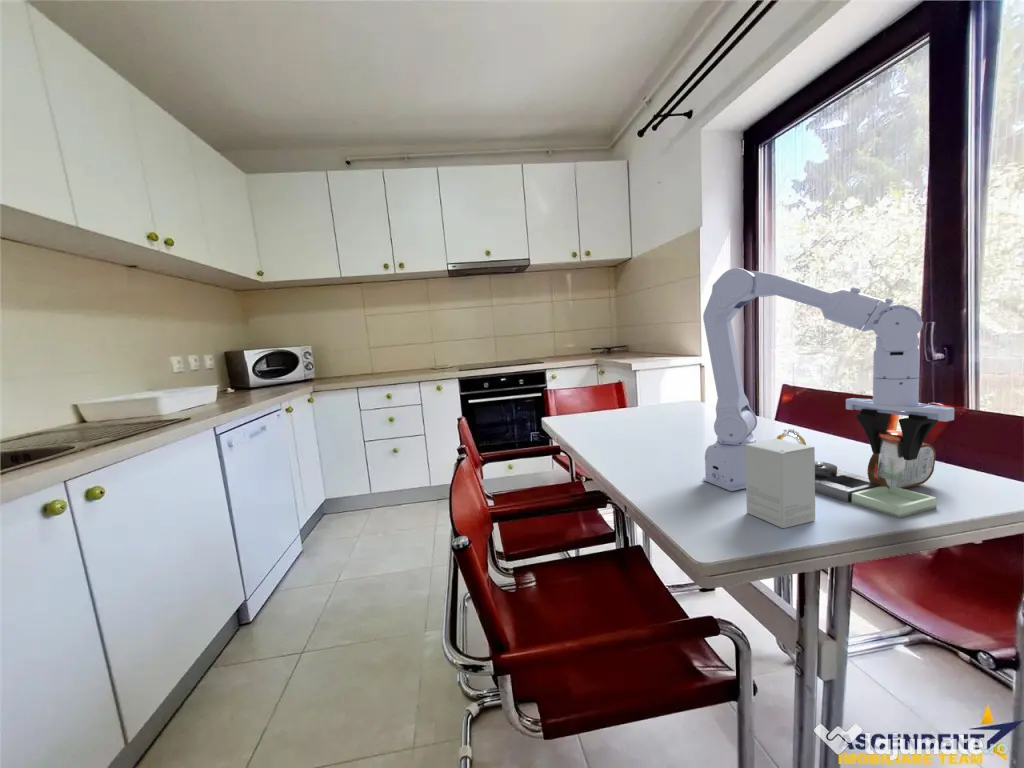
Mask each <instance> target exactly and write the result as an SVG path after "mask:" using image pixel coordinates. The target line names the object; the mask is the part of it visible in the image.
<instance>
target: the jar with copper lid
mask: <svg viewBox="0 0 1024 768" xmlns="http://www.w3.org/2000/svg"><path fill="white" fill-rule="evenodd" d="M878 437H879V438H881V441H880V451H879V461H878V470H877V475H878V476H879V477H881V478H885V479H889V480H903V478H904V469H905V460H904V457H903V435H902V430H894V429H887V430H880V431H878Z"/></svg>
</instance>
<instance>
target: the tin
mask: <svg viewBox="0 0 1024 768" xmlns="http://www.w3.org/2000/svg"><path fill="white" fill-rule="evenodd" d="M936 452H937V451H936V449H935V448H934V447H933V446H932V445H931V444H929V443H926V442H923V443H922V445H921V448H920V450H919V453H918V456H917V459H914V460H905V469H904V478H903V480H889V479H885V478H881V477H879V476H878V475H877V470H878V461H879V453H878V454H875V453H873V452H872V455H871V456H870V459H869V462H868V465H867V473H866V474H867V478H868V479H869V481H870V482H872V483H876V484H879V485H880V486H884V487H887V488H888V489H889V486H895V487H899V488H902V489H908V488H912V487H917V486H920V485H924V484H925V483H926V482H928V480H929V479H930V478H931V476H932V475H933V473H934V471H935V465H936V464H935V463H936V457H937V453H936Z"/></svg>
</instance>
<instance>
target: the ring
mask: <svg viewBox="0 0 1024 768" xmlns="http://www.w3.org/2000/svg"><path fill="white" fill-rule="evenodd" d="M782 431H783V432H782V434H779V435H777V437H775V439H780V440H783V439H784V438H785V437H791V438H792V439H794V440H796V443H798V444H803V445H807V443H806V441H805V439H804V438H803V436H802V435H801V434H800V432H798V431H797V430H795V429H792V428H789V429H782Z"/></svg>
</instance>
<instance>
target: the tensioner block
mask: <svg viewBox="0 0 1024 768" xmlns="http://www.w3.org/2000/svg"><path fill="white" fill-rule="evenodd" d="M879 486H880V485H879V484H876V483H872V482H870V481H869V479H868V476H863V475H859V474H856V473H855V474H854V473H851V472H849V471H848V472H847V471H843V470H840V469H838V466H837V465H835V464H833V463H829V462H826V461H825V462H824V461H816V460H815V493H817V494H821V495H825V496H826V497H830V498H833V499H837V500H840V501H842V502H845V503H852V493H855V492H859V491H863V490H867V489H871V488H875V487H879Z"/></svg>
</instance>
